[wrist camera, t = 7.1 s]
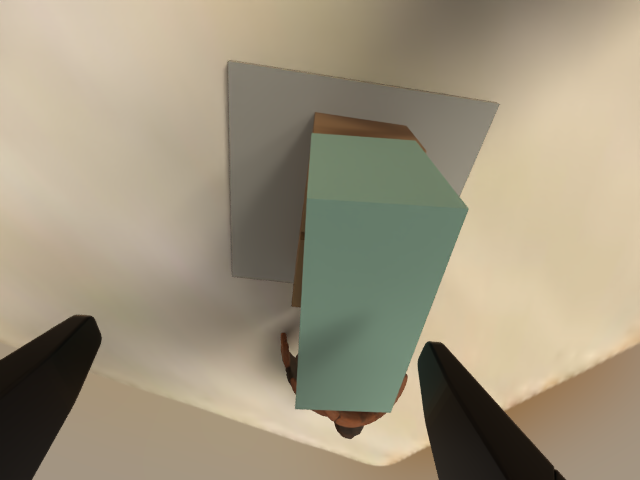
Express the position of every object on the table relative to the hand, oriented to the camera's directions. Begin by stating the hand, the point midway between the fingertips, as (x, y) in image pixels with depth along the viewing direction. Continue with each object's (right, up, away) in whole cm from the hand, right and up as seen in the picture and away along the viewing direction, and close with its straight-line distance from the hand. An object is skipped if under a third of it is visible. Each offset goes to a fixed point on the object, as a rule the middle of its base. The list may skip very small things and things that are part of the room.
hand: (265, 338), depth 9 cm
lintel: (+3, +3, +8) cm, 9 cm away
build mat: (+3, +5, +12) cm, 13 cm away
